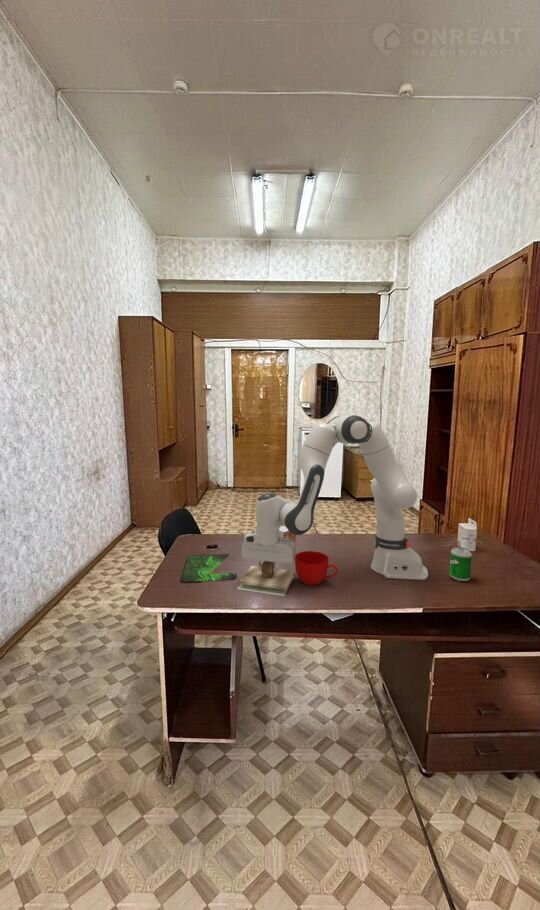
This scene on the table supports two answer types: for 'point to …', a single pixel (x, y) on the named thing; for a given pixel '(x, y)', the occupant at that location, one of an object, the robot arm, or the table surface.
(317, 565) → the ceramic cup
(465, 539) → the ink cartridge box
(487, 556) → the table surface
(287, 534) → the small box
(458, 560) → the soda can
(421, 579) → the robot arm
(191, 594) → the table surface
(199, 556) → the mouse mat
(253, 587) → the mat
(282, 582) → the lid
